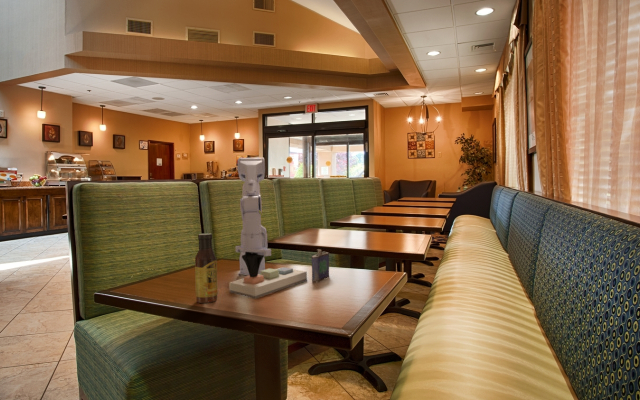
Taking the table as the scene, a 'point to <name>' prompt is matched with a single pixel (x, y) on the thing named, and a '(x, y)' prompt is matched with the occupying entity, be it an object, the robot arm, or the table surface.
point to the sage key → (270, 273)
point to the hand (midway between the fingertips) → (253, 276)
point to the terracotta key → (253, 279)
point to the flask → (320, 266)
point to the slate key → (285, 270)
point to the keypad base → (267, 284)
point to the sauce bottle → (206, 270)
